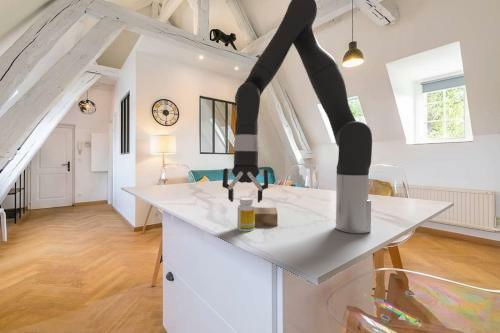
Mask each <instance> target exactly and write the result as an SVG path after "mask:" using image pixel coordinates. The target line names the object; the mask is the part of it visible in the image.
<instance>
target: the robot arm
mask: <svg viewBox="0 0 500 333" xmlns="http://www.w3.org/2000/svg"><path fill="white" fill-rule="evenodd" d="M317 14H318V2H317V1H316V0H290V2H289V4H288V6H287V10H286V12H285V14H284V16H283V18H282V20H281V22H280V23H279V26H278V28H277V30H276V31H275V33H274V34H273V37H272V38H271V39H270V40H269V42H268V44H267V45H266V47H265V49H264V50H263V51H262V53H261V54H260V56H259V57H258V59H257V60H256V62H255V63H254V65H253V66H252V68H251V69H250V72H249V75H248V76H247V78H246V80H245V81H244V82H243V83H242V84H241V85H239V87H238V88H237V91H236V92H235V96H234V102H235V105H236V119H235V123H234V125H235V128H234V134H235V135H234V140H233V141H234V142H233V143H234V144H233V150H234V151H233V167H232V168H227V167H226V168H224V169H223V172H222V188H223V189H224V188H225V189H227V190H228V191H227V192H228V193H227V194H228V195H227V196H228V197H227V198H228V200H229V201H230V203H233V202H234V195H235V194H234V187H235V186H236V184H238V182H239V183H241V184H242V183H247V184H250V183H253V184H254V185H255V187H256V188H257V203H261V202H262V200H263V192H264V190H266V189H269V177H268V176H269V174H268V169H267V168H264V169H259V163H258V162H259V140H258V135H259V134H258V133H259V127H258V120H259V119H258V118H259V113H260V105H261V104H260V103H261V96H262V94H263V92H264V91H265V89H266V88H267V87H268V86H269V84H271V82H272V81H273V79H274V78H275V76H276V74H277V73H278V71H279V70H280V68H281V66H282V64H283V63H284V61H285V59H286V57H287V55H288V53H289V51H290V49H291V48H292V45H293V46H294V48H295V50H296V51H297V53H298V55H299V58H300V60H301V62H302V65H303V67H304V69H305V72H306V74H307V77H308V80H309V81H310V85H311V86H312V90H313V91H314V93H315V95H316V97H317V99H318V102H319V103H320V105H321V107H322V109H323V110H324V111H323V112H325V114H326V117H327V120H328V121H329V124H330V127H331V130H332V133H333V136H334V141H335V143H336V146H337V147H338V156H337V157H338V159H337V165H336V182H335V184H336V191H335V192H336V194H335V195H336V196H335V200H336V201H335V228H336V230H338V231H341V232H345V233H348V234H365V233H371V232H372V200H370V199H369V189H370V188H369V187H370V186H369V182H370V181H369V180H370V168H371V165H372V157H373V156H372V154H373V152H372V151H373V133H372V130H371V128H370V127H369V125H367V124H366V123H365V122H362V121H357V120H356V117H354V116H355V115H354V114H353V112H352V110H351V107H350V104H349V99H348V93H347V89H346V84H345V80H344V77H343V74H342V71H341V70H340V68H339V65H338V63H337V61H336V60H335V58H334V57H333V56H332V55H331V54H330V53H329V52H327V51H326V50H325V49H323V48H322V47H321V46H320V43H319V42H318V40H317V38H316V36H315V33H314V30H313V24H314V22H315V20H316V18H317ZM231 174H233V176H234V179H233V180H232V181H231V183H230V184H229V183H228V182H229V176H231ZM259 174H260V175H261V176H262V177H263V184H262V185H261V183H260V181H259V180H258V179H257V177H258V176H259Z"/></svg>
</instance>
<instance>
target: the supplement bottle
mask: <svg viewBox="0 0 500 333" xmlns="http://www.w3.org/2000/svg"><path fill="white" fill-rule="evenodd" d="M253 201H254V200H253V198H251V197H242V198H240V199H239V205H238V206H237V230H238V231H240V232H252V231H254V230H255V228H256V227H255V206H254V205H253Z"/></svg>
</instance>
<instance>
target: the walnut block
mask: <svg viewBox="0 0 500 333" xmlns="http://www.w3.org/2000/svg"><path fill="white" fill-rule="evenodd" d="M254 207H255V206H254ZM278 220H279V219H278V211H277V207H262V206H261V207H260V206H259V207H258V206H257V207H255V226H256V227H259V226H261V227H268V226H269V227H278Z"/></svg>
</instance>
